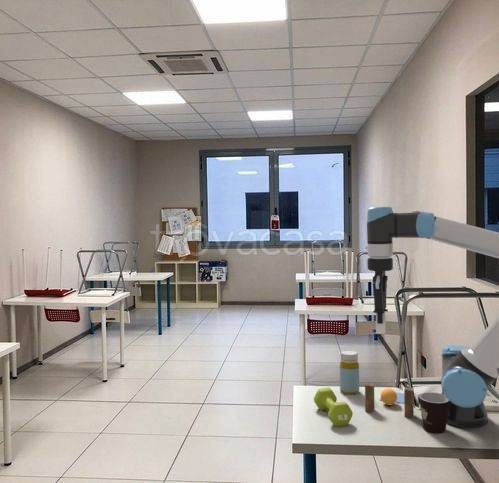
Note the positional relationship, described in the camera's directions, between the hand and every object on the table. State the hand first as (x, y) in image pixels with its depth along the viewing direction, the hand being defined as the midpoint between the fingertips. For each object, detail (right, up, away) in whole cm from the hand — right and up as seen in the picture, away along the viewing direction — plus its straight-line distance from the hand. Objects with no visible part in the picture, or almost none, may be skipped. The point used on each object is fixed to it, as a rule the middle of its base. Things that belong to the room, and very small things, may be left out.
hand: (380, 333), depth 151 cm
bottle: (-3, -28, +30) cm, 41 cm away
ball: (+8, -25, +18) cm, 32 cm away
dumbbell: (-13, -30, +10) cm, 34 cm away
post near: (+12, -29, +8) cm, 32 cm away
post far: (0, -29, +13) cm, 32 cm away
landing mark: (+11, -28, +24) cm, 38 cm away
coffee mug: (+16, -29, 0) cm, 33 cm away
